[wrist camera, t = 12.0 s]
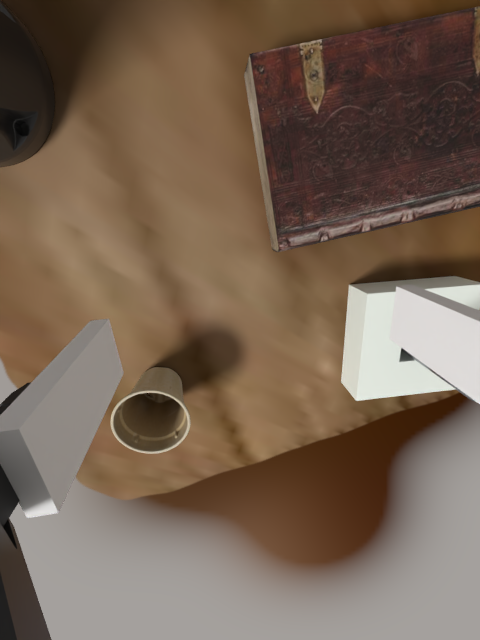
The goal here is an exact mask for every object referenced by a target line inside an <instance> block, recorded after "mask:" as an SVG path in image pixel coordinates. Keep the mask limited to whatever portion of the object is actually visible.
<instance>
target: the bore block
mask: <svg viewBox="0 0 480 640" xmlns="http://www.w3.org/2000/svg"><path fill="white" fill-rule="evenodd" d="M403 285H414V286H417V287H420V288H422V289H425V290H427V291H430V292H433V293H435V294H438V295H440V296H443V297H446V298H448V299H451V300H453V301H456V302H459V303H461V304H464V305H466V306H469V307H472V308H474V309H477V310H479V309H480V282H476V281H473V280H469V279H465V278H461V277H457V276H448V277H436V278H424V279H412V280H400V281H387V282H375V283H363V284H351V285H349V292H348V305H347V317H346V329H345V341H344V354H343V366H342V378H341V382H342V384H343V385H344V386H345V387H346V389H347V390H348V391H349V392H350V394H351V395H352V396H353V397H354V399H355V400H356V401H359V400H367V399H376V398H385V397H393V396H402V395H411V394H419V393H428V392H437V391H445V390H454V389H455V388H454V387H452V386H451V385H449V384H448V383H447V382H445V381H444V380H442V379H441V378H440V377H438V376H437V375H435V374H434V373H433V372H431V371H430V370H428V369H427V368H426V367H424V366H423V365H421V364H420V363H419V362H417V361H416V360H414V359H413V358H411V357H410V356H409V355H407V354H406V353H404V352H403V351H402V350H401V347H400V346H398V345H397V344H396V343H394V342H393V341H391V340H390V339H389V338H390V330H391V323H392V315H393V308H394V301H395V293H396V286H403Z"/></svg>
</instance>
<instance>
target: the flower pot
mask: <svg viewBox="0 0 480 640" xmlns="http://www.w3.org/2000/svg"><path fill="white" fill-rule="evenodd" d="M146 393H149V394H150V395H151V396H152V397H149V396H148V395H146ZM168 396H169V397H168ZM111 428H112V432H113V434H114V435H115V437H116V438H117V439H118V441H120V442H121V444H123V445H124V446H126V447H128V448H130V449H132V450H134V451H137V452H141V453H150V454H152V453H161V452H165V451H168V450H170V449H172V448H175V447H176V446H178V445H179V444H180V443H181V442H182V441H183V440H184V439H185V437H186V436H187V434H188V432H189V429H190V415H189V412H188V410H187V408H186V406H185V404H184V399H183V390H182V381H181V379H180V377H179V375H178V374H177V373H176V372H175V371H173V370H171V369H169V368H162V367H154V368H151V369H149V370H147V371H146V372H145V373H144V374H143V375H142V376H141V378H140V379H139V381H138V382H137V384H136V385H135V387H134V388H133V390H132V391H131V393H130V394H129V395H127V396H126V397H124V398H123V399H122V400H121V401H120V402H119V403H118V404H117V405H116V406H115V408H114V410H113V412H112V415H111Z"/></svg>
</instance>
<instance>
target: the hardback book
mask: <svg viewBox="0 0 480 640" xmlns="http://www.w3.org/2000/svg"><path fill="white" fill-rule="evenodd" d="M244 77H245V84H246V90H247V96H248V102H249V108H250V115H251V121H252V127H253V133H254V140H255V146H256V152H257V158H258V164H259V171H260V177H261V183H262V189H263V196H264V202H265V208H266V214H267V221H268V227H269V233H270V239H271V245H272V249H273V250H274V251H276V252H281V251H285V250H289V249H294V248H298V247H303V246H307V245H312V244H316V243H320V242H325V241H329V240H334V239H338V238H343V237H347V236H351V235H356V234H360V233H365V232H369V231H374V230H378V229H382V228H387V227H391V226H396V225H400V224H405V223H409V222H413V221H418V220H422V219H427V218H431V217H436V216H440V215H444V214H449V213H453V212H458V211H462V210H467V209H471V208H475V207H480V6H479V7H474V8H470V9H465V10H460V11H455V12H450V13H445V14H441V15H436V16H431V17H426V18H421V19H416V20H412V21H407V22H402V23H397V24H392V25H387V26H383V27H378V28H373V29H368V30H363V31H359V32H354V33H349V34H344V35H339V36H334V37H330V38H325V39H320V40H315V41H310V42H305V43H301V44H296V45H291V46H286V47H281V48H276V49H272V50H267V51H262V52H257V53H252V54H250V56H249V59H248V63H247V67H246V71H245V74H244Z"/></svg>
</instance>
